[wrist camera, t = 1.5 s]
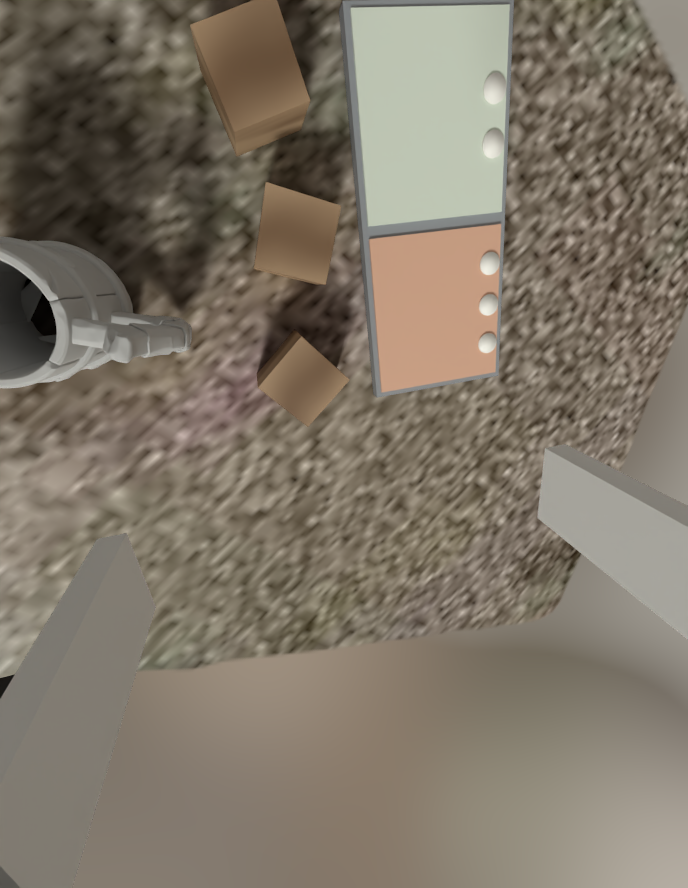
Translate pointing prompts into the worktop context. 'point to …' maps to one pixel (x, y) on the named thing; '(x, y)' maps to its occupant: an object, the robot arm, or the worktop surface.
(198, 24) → the walnut block
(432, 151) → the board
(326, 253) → the walnut block
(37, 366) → the mug
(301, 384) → the walnut block
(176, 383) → the worktop surface
